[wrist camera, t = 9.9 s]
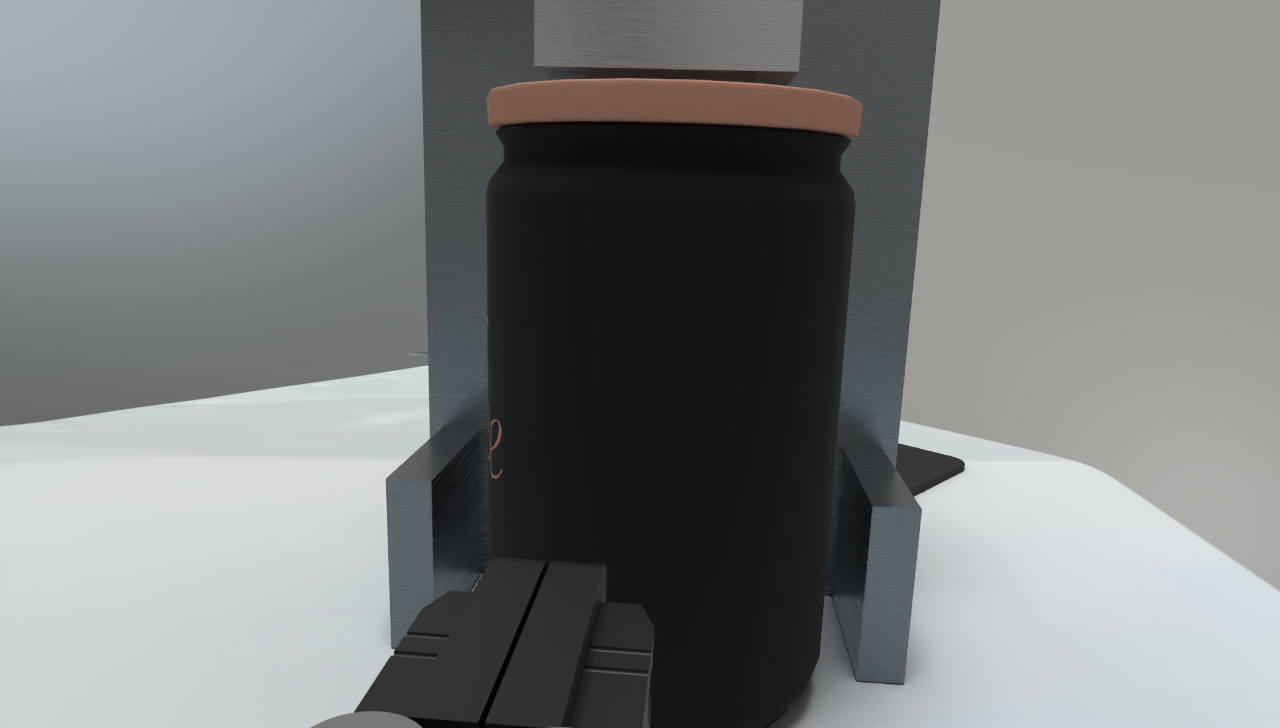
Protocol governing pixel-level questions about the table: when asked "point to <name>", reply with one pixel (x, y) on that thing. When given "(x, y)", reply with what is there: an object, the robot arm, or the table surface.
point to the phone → (925, 468)
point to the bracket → (879, 278)
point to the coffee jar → (674, 365)
